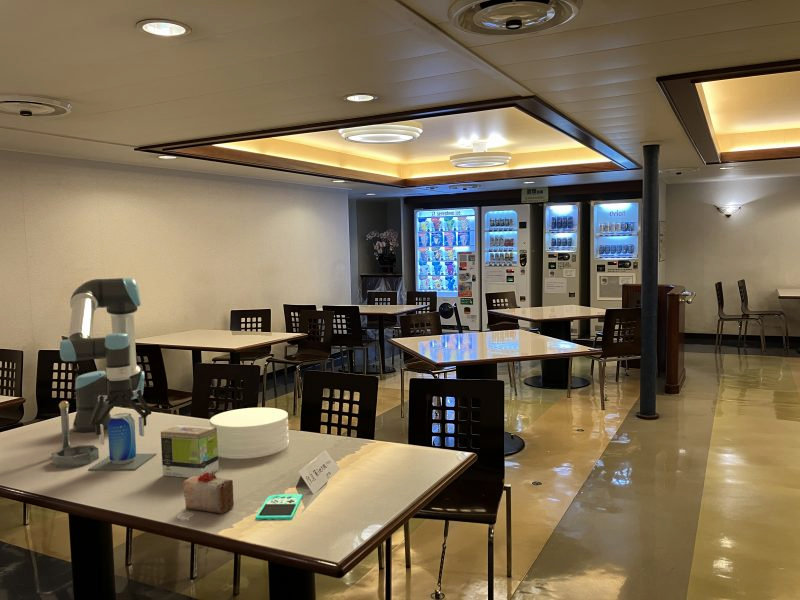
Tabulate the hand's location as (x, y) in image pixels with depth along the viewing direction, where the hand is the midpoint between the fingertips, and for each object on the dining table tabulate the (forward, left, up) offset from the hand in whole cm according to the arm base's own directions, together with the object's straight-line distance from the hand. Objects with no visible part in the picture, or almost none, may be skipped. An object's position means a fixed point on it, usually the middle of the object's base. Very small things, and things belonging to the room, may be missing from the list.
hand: (122, 439), depth 212 cm
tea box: (+11, +28, -8) cm, 31 cm away
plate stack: (-17, +40, -8) cm, 44 cm away
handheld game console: (+40, +64, -9) cm, 76 cm away
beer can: (0, 0, -8) cm, 8 cm away
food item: (+39, +44, -8) cm, 60 cm away
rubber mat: (0, 0, -8) cm, 8 cm away
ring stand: (-4, -20, -8) cm, 22 cm away
